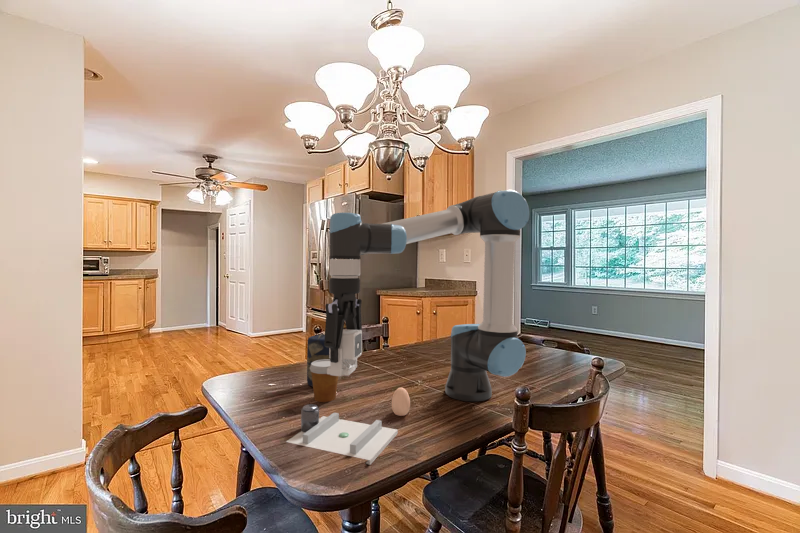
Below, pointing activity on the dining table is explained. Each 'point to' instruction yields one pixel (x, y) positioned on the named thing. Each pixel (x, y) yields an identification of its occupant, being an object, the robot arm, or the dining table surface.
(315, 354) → the canister
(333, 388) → the disposable coffee cup
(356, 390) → the dining table surface
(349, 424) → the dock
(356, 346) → the white rounded plastic box
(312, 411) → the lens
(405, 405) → the egg
